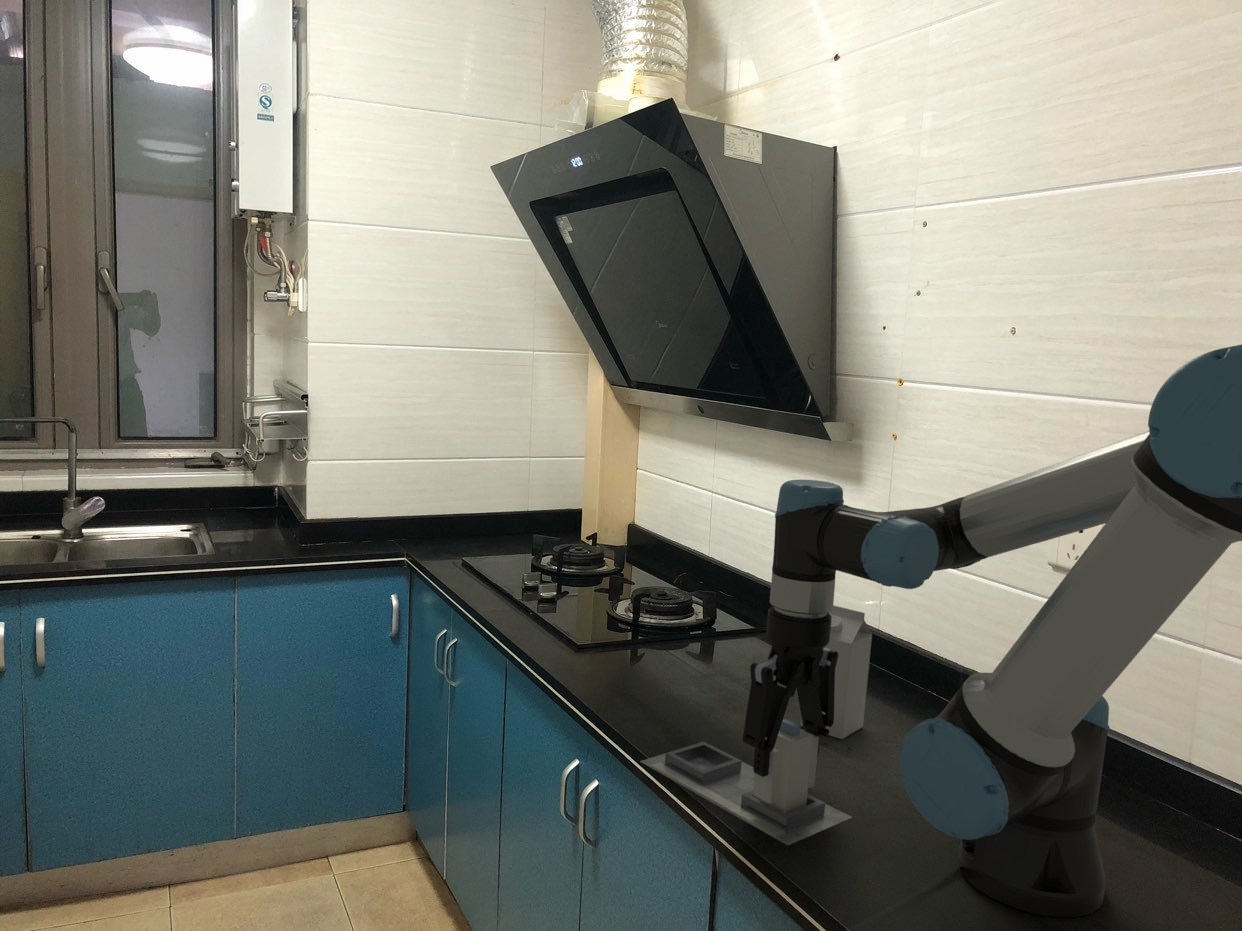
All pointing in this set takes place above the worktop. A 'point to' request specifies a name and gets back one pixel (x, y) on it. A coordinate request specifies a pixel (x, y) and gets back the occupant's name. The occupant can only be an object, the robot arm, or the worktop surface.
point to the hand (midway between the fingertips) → (784, 790)
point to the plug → (792, 767)
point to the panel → (741, 792)
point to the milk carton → (849, 669)
